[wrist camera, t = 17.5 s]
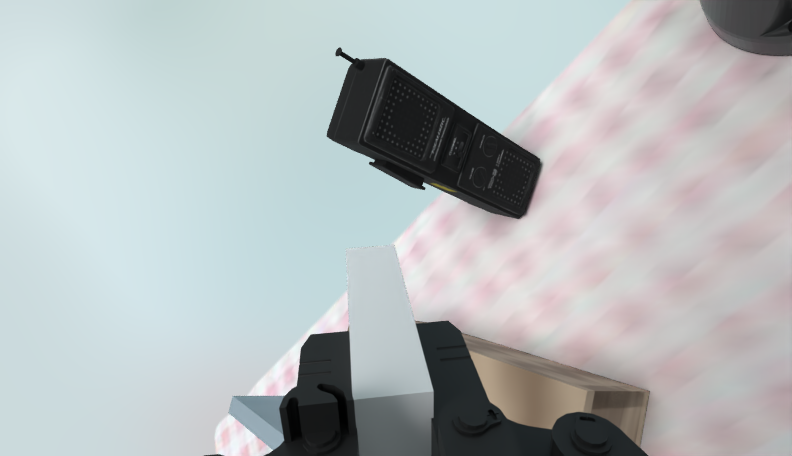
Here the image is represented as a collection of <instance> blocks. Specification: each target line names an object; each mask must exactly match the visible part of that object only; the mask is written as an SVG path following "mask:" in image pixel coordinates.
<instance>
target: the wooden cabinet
mask: <svg viewBox="0 0 792 456" xmlns="http://www.w3.org/2000/svg"><path fill="white" fill-rule="evenodd" d="M418 323H427V322H420V321H415V324H418ZM348 331H349V327H348ZM462 336H463V338H464V341H465V343H466V347H467V348H468V350H469V353H470V355H471V359H472V360H473V362H474V365H475V367H476V370H477V372H478V375H479V377H480V380H481V382H482V384H483V387H484V389H485V392H486V394H487V397H488V399H489V401H490V402H491V403H492V404H494V405H495V406H497V407H498V408H500V410H501V411H502V412H503V414H504V415H505V417H506V418H507V419H509V420H511V421H514V422H516V423H519V424H523V425H527V426H533V427H539V428H546V429H552V427H553V425H554V424H555V422H556V420H557V419H558V418H560V417H561V416H563V415H565V414H567V413H574V412H584V413H591V414H595V415H597V416H600V417H602V418H605V419H607V420H609V421H610V422H611V423H613V424H614V425H616V426H617V427H618V428H620V429H621V430H622V431H623V432H624V433H625V434H626V435H627V436H628V437H629V438H630V439H631V440H632V441H633V442H634V443H635V444H636V445H637V446H638V447H640V444H641V438H642V432H643V426H644V421H645V415H646V409H647V404H648V398H649V392H650V391H647V390H644V389H640V388H637V387H634V386H631V385H628V384H624V383H621V382H618V381H615V380H611V379H608V378H605V377H602V376H599V375H595V374H592V373H589V372H586V371H583V370H579V369H576V368H573V367H570V366H566V365H563V364H560V363H557V362H554V361H550V360H547V359H544V358H541V357H538V356H534V355H531V354H528V353H525V352H521V351H518V350H515V349H512V348H509V347H505V346H502V345H499V344H496V343H493V342H489V341H486V340H483V339H480V338H477V337H473V336H470V335H467V334H464V333H462Z"/></svg>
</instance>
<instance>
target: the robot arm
mask: <svg viewBox="0 0 792 456" xmlns="http://www.w3.org/2000/svg"><path fill="white" fill-rule="evenodd" d="M700 3H701V6H702V9H703V11H704V13H705V15H706V17H707V20H708V22H709V24H710V25H711V27H712V29H713V30H714V31H715V32H716V33H717V34H718V35H719V36H720V37H721V38H722V39H723V40H725V41H726V42H728V43H729V44H731V45H733V46H735V47H737V48H740V49H742V50H746V51H749V52H753V53H758V54H766V55H792V0H700ZM346 263H347V286H348V309H349V331H345V332H334V333H323V334H312V335H310V336H309V338H308V339H307V341H306V342H305V343H304V345H303V346H302V347H301V354H300V365H299V372H298V381H297V386H296V387H295V388H293V389H291V390H290V391H289V392H288V393H287V394H286V395H285V396H284V397H283V400H282V402H281V404H280V407H279V411H280V418H281V424H282V430H283V436H284V441H283V442H282V443H281V445H280V446H279V447H277V448H276V449H274V450H273V451H272V452H270V453H269V454H267V455H265V456H648V455H647V454H646V453H645V452H644V451H643V450H642V449H641V448H640V447H638V446H637V445H636V444H635V443H634V442H633V441H632V440H631V439H630V438H629V437H628V436H627V435H626V434H625V433H624V432H623V431H622V430H621V429H620V428H618V427H617V426H616V425H614V424H613V423H611V422H610V421H609V420H607V419H605V418H602V417H600V416H597V415H595V414H591V413H584V412H574V413H567V414H565V415H563V416H561V417H560V418H558V419H557V420H556V422H555V424H554V425H553V427H552V429H546V428H539V427H533V426H527V425H523V424H519V423H516V422H514V421H511V420H509V419H507V418H506V417H505V415H504V414H503V412H502V411H501V410H500V408H498V407H497V406H495V405H494V404H492V403H491V402H490V401H489V399H488V397H487V394H486V392H485V389H484V387H483V384H482V382H481V380H480V377H479V375H478V372H477V370H476V367H475V365H474V362H473V360H472V359H471V355H470V353H469V350H468V348H467V347H466V343H465V341H464V338H463V336H462V333H461V331H460V330H458V329H457V328H456V327H455V326H454V325H453V324H451V323H450V322H449V321H440V322H429V323H418V324H415V320H414V316H413V313H412V309H411V305H410V301H409V298H408V294H407V290H406V287H405V283H404V279H403V275H402V272H401V268H400V264H399V260H398V257H397V253H396V249H395V245H386V246H375V247H374V246H372V247H359V248H346ZM205 456H223V455H220V454H217V455H205Z"/></svg>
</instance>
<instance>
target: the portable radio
mask: <svg viewBox="0 0 792 456" xmlns="http://www.w3.org/2000/svg"><path fill="white" fill-rule="evenodd" d="M339 55H340V56H342V57H343V58H345V59H347V60H348V61H350V62H351V63H352V64H351V65H350V67H349V69H348V72H347V74H346V78H345V80H344V83H343V87H342V90H341V92H340V96H339V98H338V101H337V104H336V107H335V110H334V113H333V116H332V119H331V122H330V125H329V129H328V131H327V137H329V138H330V139H331V140H333V141H335V142H337V143H339V144H341V145H343V146H345V147H347V148H349V149H351V150H354V151H356V152H358V153H361V154H364V155H366V156H368V157H370V158H372V159H374V160H375V162H369V164H370V165H372V166H373V167H375V168H377V169H379V170H381V171H383V172H384V173H386V174H388V175H390V176H392V177H394V178H396V179H398V180H399V181H401V182H403V183H405V184H407V185H408V186H410V187H413V188H417V189H422V190H425V187H423V186H422V185H423V182H424V183H427V184H429V185H431V186H433V187H435V188H437V189H439V190H442V191H444V192H446V193H448V194H450V195H453V196H455V197H457V198H459V199H461V200H463V201H465V202H467V203H469V204H471V205H474V206H476V207H479V208H481V209H484V210H486V211H488V212H491V213H495V214H499V215H504V216H508V217H513V218H517V219H519V218H520V217H521V216H522V215H523V213H524V210H525V208H526V205H527V202H528V199H529V196H530V193H531V190H532V187H533V184H534V181H535V178H536V175H537V171H538V168H539V165H540V159H539V158H538V157H536V156H535V155H533V154H532V153H530V152H528V151H527V150H525V149H523V148H522V147H520V146H519V145H517V144H516V143H514V142H512V141H511V140H509V139H508V138H506V137H505V136H503V135H501V134H500V133H498V132H497V131H495V130H494V129H492V128H491V127H489V126H488V125H486V124H484V123H483V122H482V121H480V120H479V119H477V118H475V117H474V116H472V115H471V114H469V113H468V112H466V111H465V110H463V109H462V108H460V107H459V106H457V105H456V104H454V103H453V102H451V101H450V100H449V99H447V98H445V97H444V96H443V95H441V94H440V93H438V92H437V91H435V90H434V89H432V88H431V87H429V86H428V85H426V84H424V83H423V82H422V81H420V80H419V79H417V78H416V77H414V76H412V75H411V74H410V73H408V72H407V71H405V70H403V69H402V68H401V67H399V66H398V65H396V64H395V63H393V62H392V61H390V60H389V59H386V58H379V59H362V60H359V59H358V58H356V59H353V58H351V57H350V56H348V55H347V54H345V53H343V52H342V49H341V48H338V49H337V51H336V56H339Z"/></svg>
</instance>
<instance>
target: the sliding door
mask: <svg viewBox="0 0 792 456" xmlns="http://www.w3.org/2000/svg"><path fill="white" fill-rule="evenodd" d="M283 397H284V396H233V397H232V401H231V405H230V409H229V414H231V415H232V416H233V417H234V418H235V419H237V420H238V421H239V422H240V423H241V424H243V425H244V426H245V427H246V428H247V429H249V430H250V431H251V432H252V433H253V434H255V435H256V436H257V437H258V438H259V439H261V440H262V441H263V442H264V443H265V444H267V445H268V446H269V447H270V448H271V449H273V450H274V449H276V448H277V447H279V446H280V445H281V443H282V442H283V441H284V436H283V430H282V424H281V418H280V411H279V407H280V404H281V402H282V400H283Z"/></svg>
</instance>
